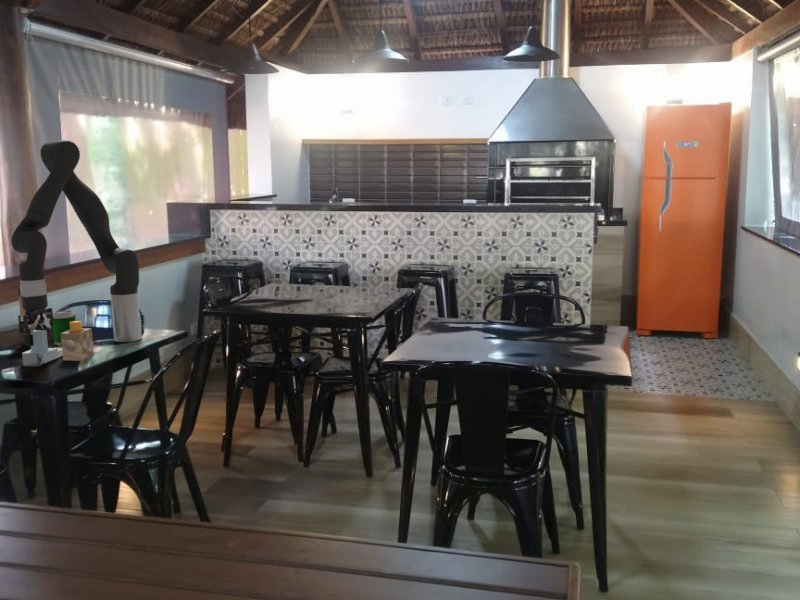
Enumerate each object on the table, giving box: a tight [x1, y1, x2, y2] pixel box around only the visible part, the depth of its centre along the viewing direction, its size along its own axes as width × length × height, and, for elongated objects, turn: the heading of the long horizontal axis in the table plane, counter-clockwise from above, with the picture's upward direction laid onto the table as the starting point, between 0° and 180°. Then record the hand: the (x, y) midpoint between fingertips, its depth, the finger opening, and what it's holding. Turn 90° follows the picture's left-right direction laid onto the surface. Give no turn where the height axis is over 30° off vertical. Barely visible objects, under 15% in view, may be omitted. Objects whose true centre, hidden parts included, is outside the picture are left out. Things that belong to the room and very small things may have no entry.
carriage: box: [21, 330, 58, 364], centre depth 244 cm, size 7×8×10 cm
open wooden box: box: [61, 327, 95, 362], centre depth 250 cm, size 8×6×9 cm
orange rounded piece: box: [70, 320, 83, 333], centre depth 249 cm, size 4×4×5 cm
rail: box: [21, 345, 63, 368], centre depth 251 cm, size 23×5×4 cm, turn 170°
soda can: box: [52, 309, 77, 347], centre depth 268 cm, size 8×8×12 cm
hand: (38, 343), depth 244 cm, fingers open, 8 cm apart
